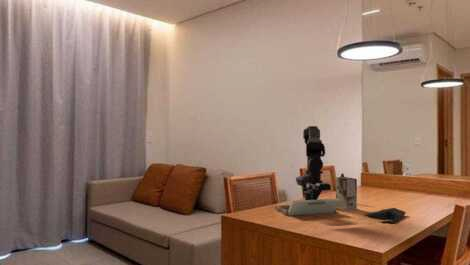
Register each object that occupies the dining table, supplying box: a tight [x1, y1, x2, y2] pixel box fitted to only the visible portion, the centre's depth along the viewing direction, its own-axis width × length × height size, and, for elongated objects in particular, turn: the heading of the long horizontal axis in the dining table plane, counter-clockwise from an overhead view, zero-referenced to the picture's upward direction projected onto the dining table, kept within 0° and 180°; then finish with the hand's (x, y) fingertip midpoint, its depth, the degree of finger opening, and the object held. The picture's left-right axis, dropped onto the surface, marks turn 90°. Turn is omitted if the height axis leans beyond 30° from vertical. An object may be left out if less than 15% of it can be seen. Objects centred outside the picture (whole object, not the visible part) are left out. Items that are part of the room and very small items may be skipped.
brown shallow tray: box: [274, 204, 337, 216], centre depth 165 cm, size 12×26×3 cm, turn 107°
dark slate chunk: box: [364, 207, 406, 225], centre depth 159 cm, size 15×22×5 cm
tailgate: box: [287, 197, 340, 216], centre depth 157 cm, size 2×24×8 cm
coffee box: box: [335, 176, 358, 211], centre depth 174 cm, size 9×6×16 cm
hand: (313, 203), depth 157 cm, fingers closed
